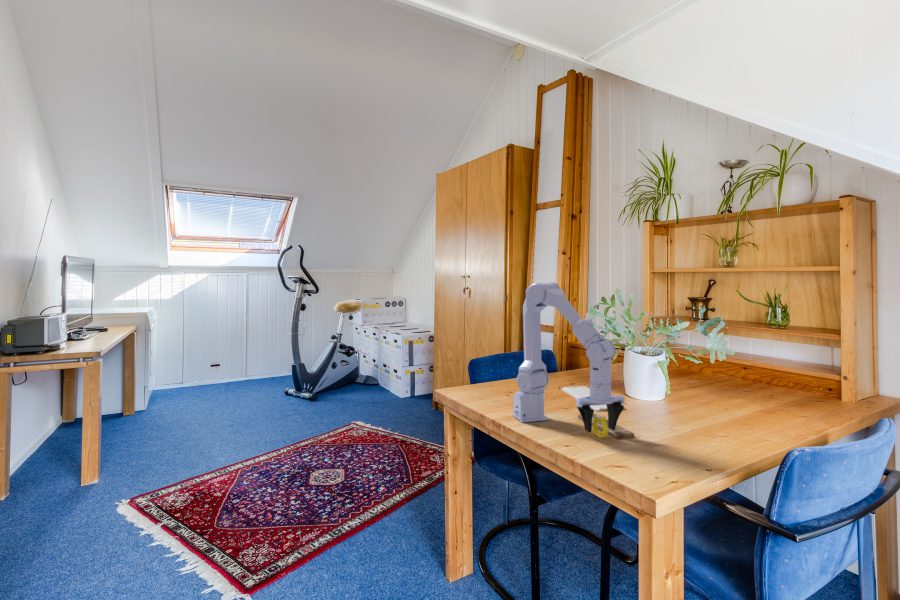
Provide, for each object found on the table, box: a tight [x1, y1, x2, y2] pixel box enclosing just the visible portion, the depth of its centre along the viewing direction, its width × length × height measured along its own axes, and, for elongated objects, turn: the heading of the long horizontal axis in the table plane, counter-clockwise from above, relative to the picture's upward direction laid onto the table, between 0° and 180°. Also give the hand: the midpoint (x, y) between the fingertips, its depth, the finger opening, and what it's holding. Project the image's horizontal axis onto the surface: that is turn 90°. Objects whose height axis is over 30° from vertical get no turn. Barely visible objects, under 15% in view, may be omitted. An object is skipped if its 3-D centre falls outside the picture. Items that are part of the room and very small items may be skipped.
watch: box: [592, 414, 608, 439], centre depth 129 cm, size 6×3×6 cm, turn 11°
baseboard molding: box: [557, 382, 626, 412], centre depth 169 cm, size 31×3×12 cm
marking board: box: [577, 413, 635, 440], centre depth 137 cm, size 6×20×1 cm, turn 15°
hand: (600, 429), depth 129 cm, fingers open, 7 cm apart
